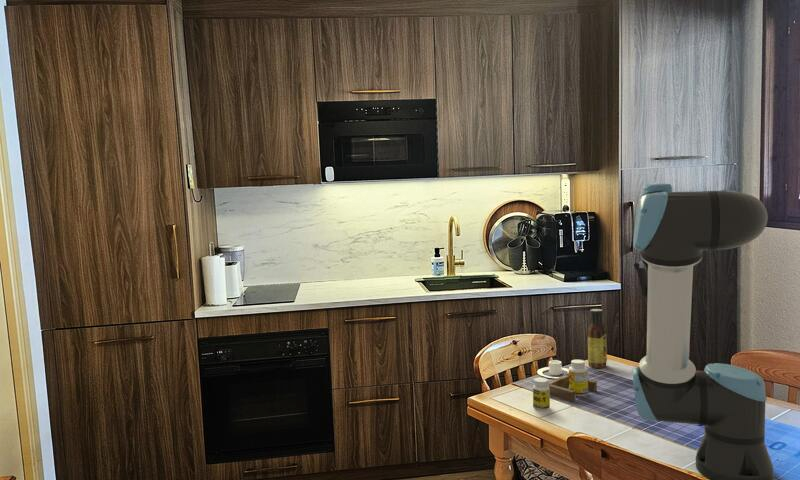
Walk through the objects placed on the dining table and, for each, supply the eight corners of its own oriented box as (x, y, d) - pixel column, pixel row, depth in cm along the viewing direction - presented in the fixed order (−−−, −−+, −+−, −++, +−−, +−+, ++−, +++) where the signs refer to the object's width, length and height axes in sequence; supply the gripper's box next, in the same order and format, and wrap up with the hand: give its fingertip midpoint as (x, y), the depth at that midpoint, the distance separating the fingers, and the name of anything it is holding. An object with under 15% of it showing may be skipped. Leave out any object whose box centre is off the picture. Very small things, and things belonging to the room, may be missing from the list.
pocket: (572, 402, 180) (572, 392, 180) (543, 393, 188) (542, 384, 188) (596, 390, 188) (596, 381, 188) (567, 383, 196) (567, 374, 196)
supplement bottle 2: (569, 390, 190) (568, 358, 189) (588, 391, 188) (587, 358, 187) (569, 396, 184) (568, 363, 184) (588, 397, 183) (587, 364, 182)
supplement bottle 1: (531, 409, 176) (530, 381, 175) (535, 403, 180) (534, 376, 179) (547, 411, 174) (547, 383, 173) (551, 405, 178) (551, 378, 177)
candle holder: (573, 381, 199) (573, 368, 198) (536, 379, 202) (535, 366, 202) (573, 369, 210) (573, 357, 210) (538, 368, 214) (538, 356, 213)
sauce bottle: (608, 369, 208) (607, 312, 206) (589, 368, 209) (588, 312, 207) (605, 363, 215) (604, 307, 213) (586, 363, 216) (586, 308, 214)
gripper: (687, 239, 167) (686, 323, 169) (641, 237, 177) (641, 316, 179) (674, 242, 162) (673, 328, 164) (628, 239, 172) (628, 321, 174)
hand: (657, 322), depth 172 cm, fingers closed
